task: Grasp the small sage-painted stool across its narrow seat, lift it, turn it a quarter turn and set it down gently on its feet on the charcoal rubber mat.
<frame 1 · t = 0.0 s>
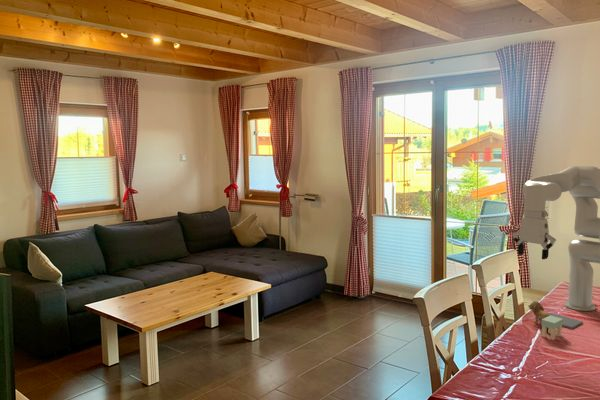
hand: (532, 256, 193), 31 cm above the table, tool pointing down, fingers open, 9 cm apart
sage stool: (551, 336, 192), on the table
lion figurine: (540, 325, 203), on the table
charcoal mat: (560, 321, 207), on the table
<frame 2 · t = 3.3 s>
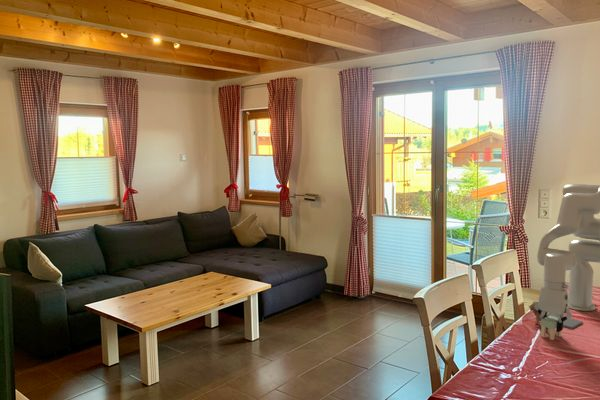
hand: (551, 328, 191), 3 cm above the table, tool pointing down, fingers closed on sage stool, 5 cm apart
sage stool: (550, 336, 191), on the table, touching gripper
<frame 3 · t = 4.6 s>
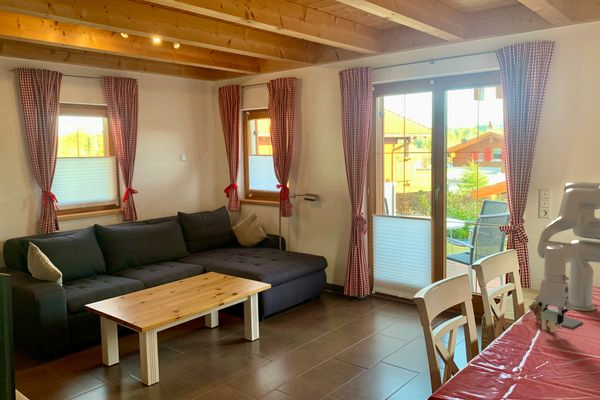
hand: (552, 320, 192), 6 cm above the table, tool pointing down, fingers closed on sage stool, 5 cm apart
sage stool: (551, 328, 192), point 3 cm above the table, touching gripper
everything else where it was.
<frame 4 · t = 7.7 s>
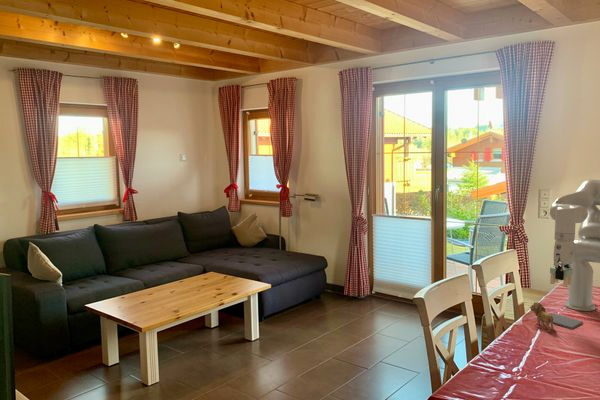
hand: (562, 277, 204), 19 cm above the table, tool pointing down, fingers closed on sage stool, 5 cm apart
sage stool: (560, 284, 205), point 16 cm above the table, touching gripper
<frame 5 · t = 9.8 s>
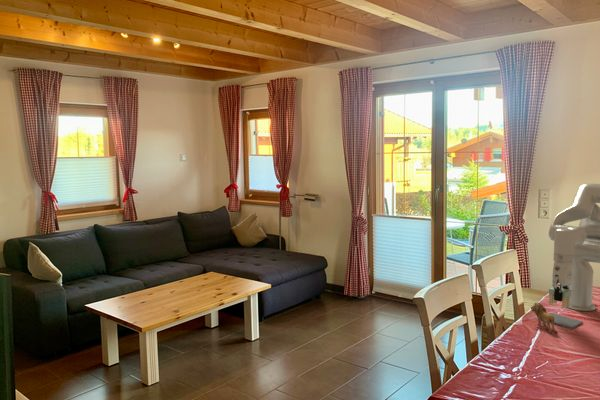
hand: (561, 298, 205), 10 cm above the table, tool pointing down, fingers closed on sage stool, 5 cm apart
sage stool: (559, 305, 206), point 7 cm above the table, touching gripper
when the fingers open (5 cm above the table, at t = 11.9 s): sage stool drops 1 cm, resting on charcoal mat.
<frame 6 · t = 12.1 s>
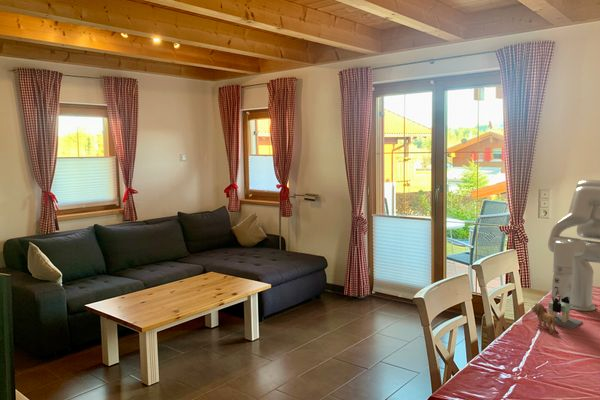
hand: (560, 309, 206), 5 cm above the table, tool pointing down, fingers open, 6 cm apart
sage stool: (559, 319, 207), point 1 cm above the table, touching charcoal mat
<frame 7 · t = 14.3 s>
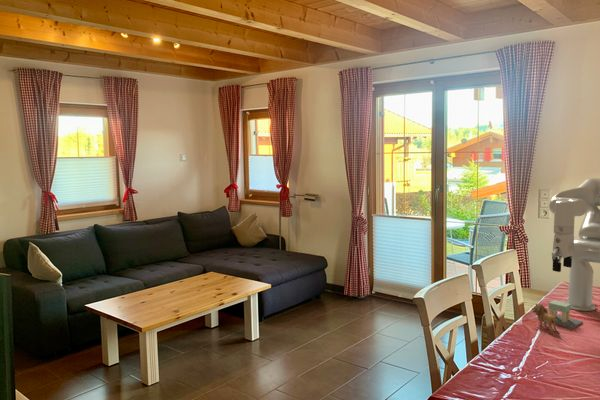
hand: (562, 269, 205), 23 cm above the table, tool pointing down, fingers open, 9 cm apart
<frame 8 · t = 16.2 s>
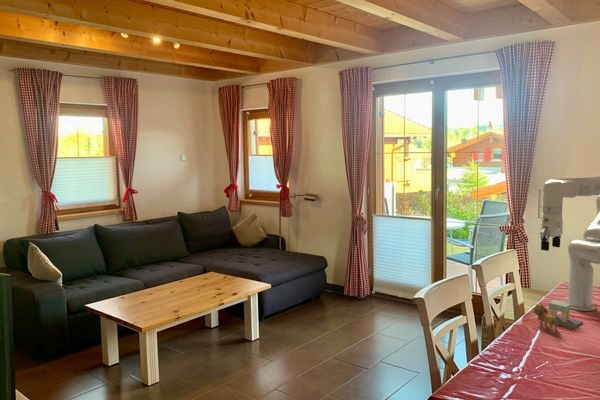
hand: (550, 248, 210), 30 cm above the table, tool pointing down, fingers open, 9 cm apart
at the end: sage stool inside the target area on the charcoal mat (0.6 cm from its centre), point 0.8 cm above the charcoal mat's base; sage stool tilted 0°; the gripper is holding nothing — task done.
